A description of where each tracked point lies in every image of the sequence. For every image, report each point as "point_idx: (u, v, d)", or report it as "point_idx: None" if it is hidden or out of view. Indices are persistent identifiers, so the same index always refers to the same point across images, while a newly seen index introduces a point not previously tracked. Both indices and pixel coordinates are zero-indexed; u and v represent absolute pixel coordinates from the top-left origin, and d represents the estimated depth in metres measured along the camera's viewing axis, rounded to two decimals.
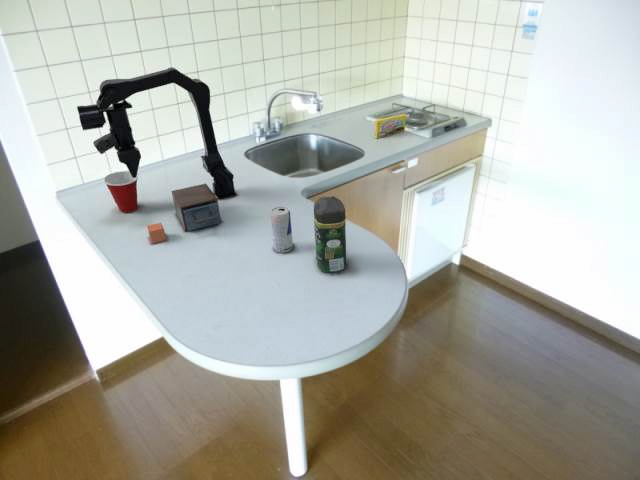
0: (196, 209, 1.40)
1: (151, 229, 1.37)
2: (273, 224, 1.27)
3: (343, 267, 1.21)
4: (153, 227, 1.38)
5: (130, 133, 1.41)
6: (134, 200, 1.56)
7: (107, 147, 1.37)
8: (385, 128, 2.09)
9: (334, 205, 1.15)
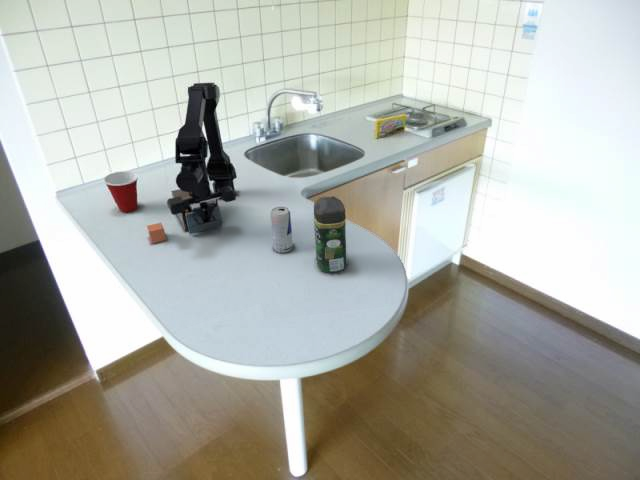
0: None
1: (151, 229, 1.37)
2: (273, 224, 1.27)
3: (343, 267, 1.21)
4: (153, 227, 1.38)
5: (195, 189, 1.30)
6: (134, 200, 1.56)
7: None
8: (385, 128, 2.09)
9: (334, 205, 1.15)
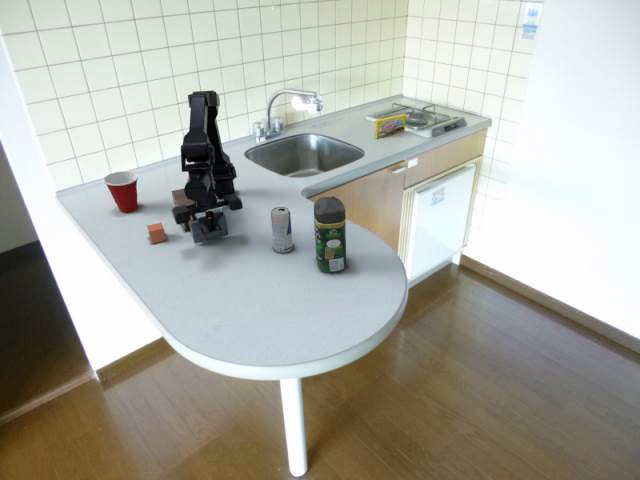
0: None
1: (151, 229, 1.37)
2: (273, 224, 1.27)
3: (343, 267, 1.21)
4: (153, 227, 1.38)
5: None
6: (134, 200, 1.56)
7: (186, 197, 1.31)
8: (385, 128, 2.09)
9: (334, 205, 1.15)
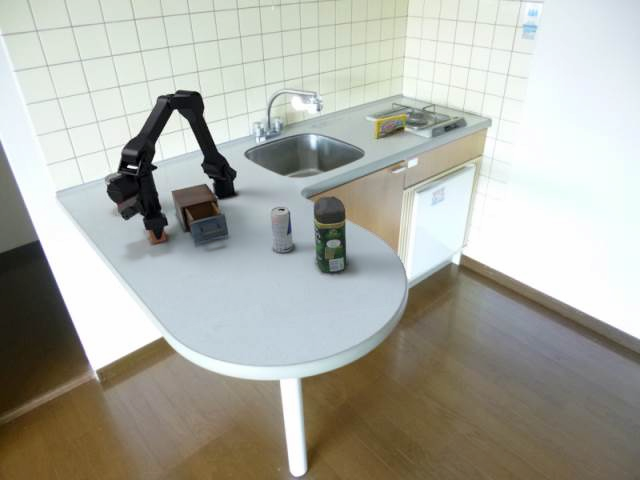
0: (203, 221, 1.34)
1: None
2: (273, 224, 1.27)
3: (343, 267, 1.21)
4: None
5: (156, 197, 1.33)
6: None
7: (132, 214, 1.29)
8: (385, 128, 2.09)
9: (334, 205, 1.15)
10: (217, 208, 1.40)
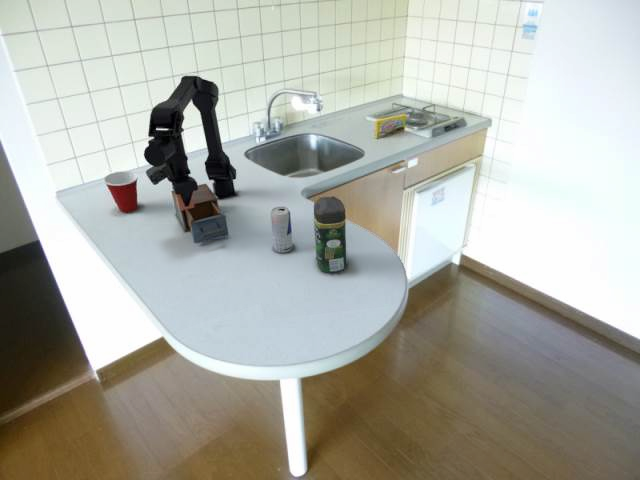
0: (203, 221, 1.34)
1: (179, 195, 1.33)
2: (273, 224, 1.27)
3: (343, 267, 1.21)
4: None
5: (185, 162, 1.29)
6: (134, 200, 1.56)
7: (162, 178, 1.26)
8: (385, 128, 2.09)
9: (334, 205, 1.15)
10: (217, 208, 1.40)
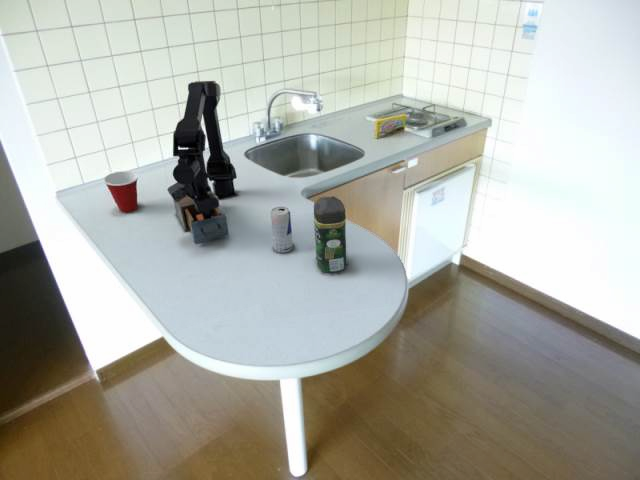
0: (204, 221, 1.33)
1: (201, 218, 1.38)
2: (273, 224, 1.27)
3: (343, 267, 1.21)
4: (202, 216, 1.39)
5: (206, 179, 1.32)
6: (134, 200, 1.56)
7: (184, 195, 1.29)
8: (385, 128, 2.09)
9: (334, 205, 1.15)
10: (217, 209, 1.40)
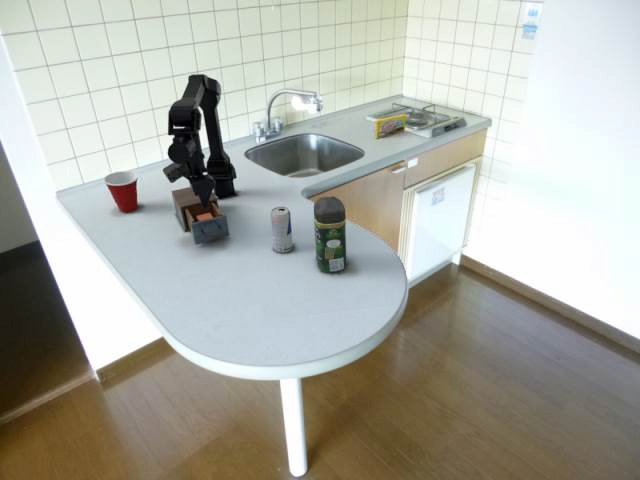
0: (204, 222, 1.33)
1: (201, 219, 1.37)
2: (273, 224, 1.27)
3: (343, 267, 1.21)
4: (203, 217, 1.38)
5: (202, 160, 1.30)
6: (134, 200, 1.56)
7: (179, 176, 1.26)
8: (385, 128, 2.09)
9: (334, 205, 1.15)
10: (218, 209, 1.39)
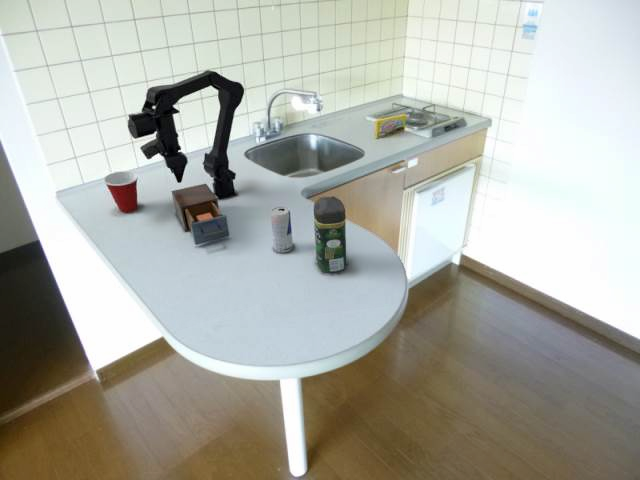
0: (204, 222, 1.33)
1: (201, 219, 1.37)
2: (273, 224, 1.27)
3: (343, 267, 1.21)
4: (203, 217, 1.38)
5: (176, 139, 1.43)
6: (134, 200, 1.56)
7: (155, 153, 1.39)
8: (385, 128, 2.09)
9: (334, 205, 1.15)
10: (218, 209, 1.39)
